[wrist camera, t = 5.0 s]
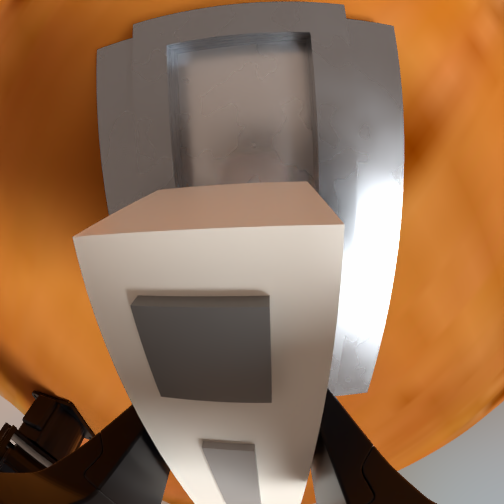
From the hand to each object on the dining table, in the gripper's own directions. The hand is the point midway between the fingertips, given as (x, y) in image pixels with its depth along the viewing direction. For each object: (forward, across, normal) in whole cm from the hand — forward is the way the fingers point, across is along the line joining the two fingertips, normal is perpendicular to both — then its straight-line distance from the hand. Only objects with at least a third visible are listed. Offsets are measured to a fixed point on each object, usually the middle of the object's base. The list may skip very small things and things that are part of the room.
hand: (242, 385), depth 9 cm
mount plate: (+7, 0, -3) cm, 8 cm away
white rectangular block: (+1, 0, 0) cm, 1 cm away
